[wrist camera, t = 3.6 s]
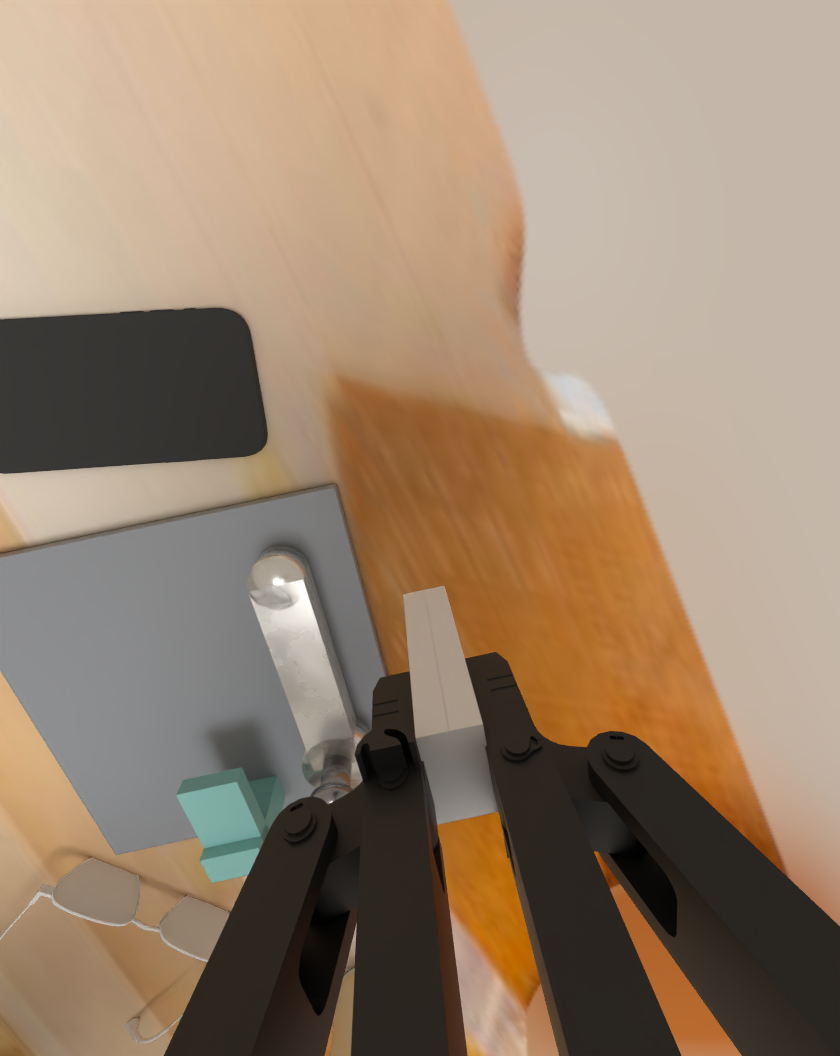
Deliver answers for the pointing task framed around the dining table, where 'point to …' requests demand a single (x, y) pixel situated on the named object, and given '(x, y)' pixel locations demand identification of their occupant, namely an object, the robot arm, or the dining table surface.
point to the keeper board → (179, 669)
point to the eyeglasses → (134, 913)
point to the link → (307, 669)
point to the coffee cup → (343, 1018)
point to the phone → (127, 390)
